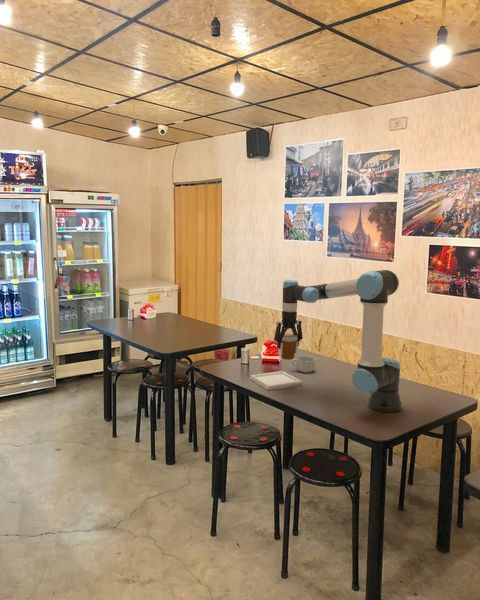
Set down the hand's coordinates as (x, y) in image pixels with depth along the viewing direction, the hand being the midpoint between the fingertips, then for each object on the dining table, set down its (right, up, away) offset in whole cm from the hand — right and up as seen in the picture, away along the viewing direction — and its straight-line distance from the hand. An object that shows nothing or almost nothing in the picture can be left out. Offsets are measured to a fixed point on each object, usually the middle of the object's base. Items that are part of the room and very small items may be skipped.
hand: (287, 353), depth 261 cm
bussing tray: (-5, -17, +11) cm, 20 cm away
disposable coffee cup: (0, -2, 0) cm, 3 cm away
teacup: (+12, -14, +32) cm, 37 cm away
